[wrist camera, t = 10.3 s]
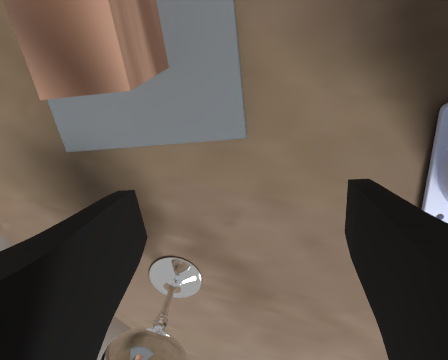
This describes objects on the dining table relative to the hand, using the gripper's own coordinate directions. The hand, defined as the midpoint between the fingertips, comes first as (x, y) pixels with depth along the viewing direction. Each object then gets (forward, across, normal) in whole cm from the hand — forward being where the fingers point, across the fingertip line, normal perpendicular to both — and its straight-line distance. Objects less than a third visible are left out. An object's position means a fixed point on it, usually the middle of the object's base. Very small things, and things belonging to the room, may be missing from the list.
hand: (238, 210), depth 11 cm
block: (+9, +6, -6) cm, 13 cm away
